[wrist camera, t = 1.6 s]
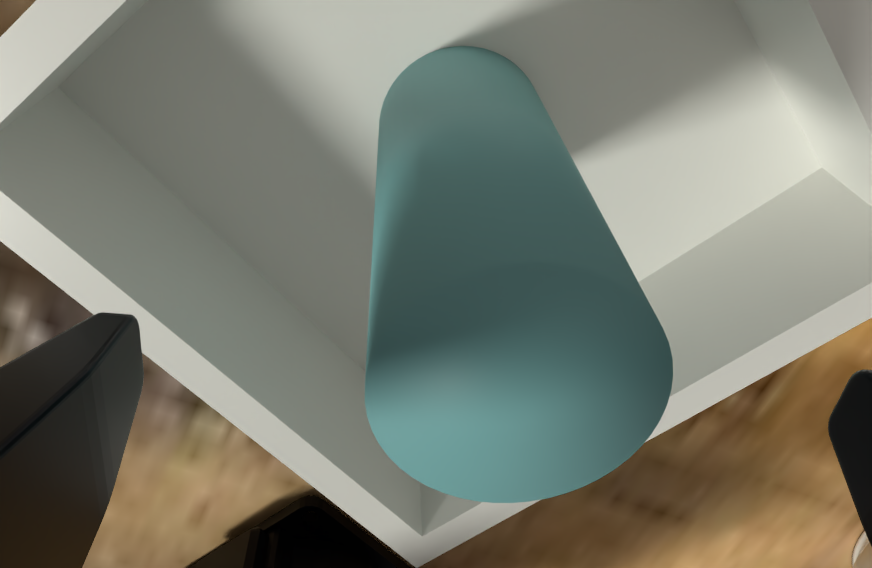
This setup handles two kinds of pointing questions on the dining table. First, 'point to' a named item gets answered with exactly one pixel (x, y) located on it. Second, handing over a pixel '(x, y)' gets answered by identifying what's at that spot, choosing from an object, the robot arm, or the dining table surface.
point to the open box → (356, 183)
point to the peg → (499, 295)
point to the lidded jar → (862, 553)
